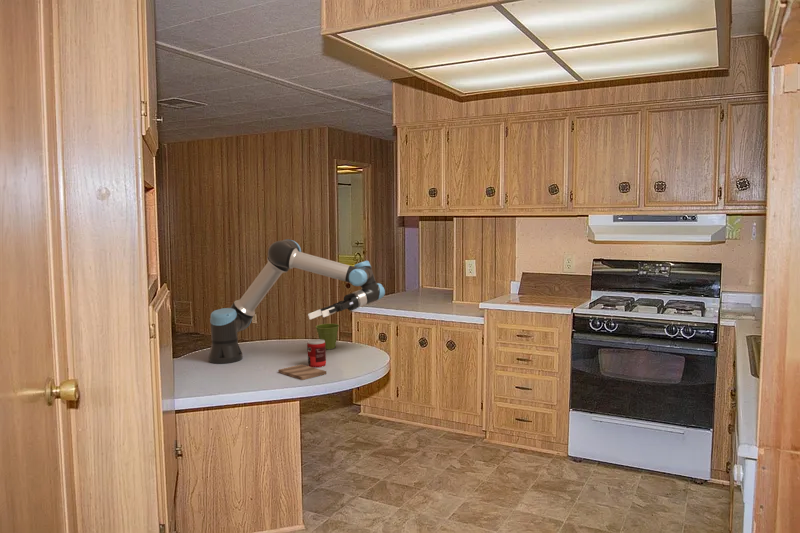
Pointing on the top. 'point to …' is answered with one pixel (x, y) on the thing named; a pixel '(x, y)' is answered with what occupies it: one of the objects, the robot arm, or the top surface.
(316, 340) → the canned food
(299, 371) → the walnut board
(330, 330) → the plant pot
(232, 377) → the top surface
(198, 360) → the top surface
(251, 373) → the top surface
